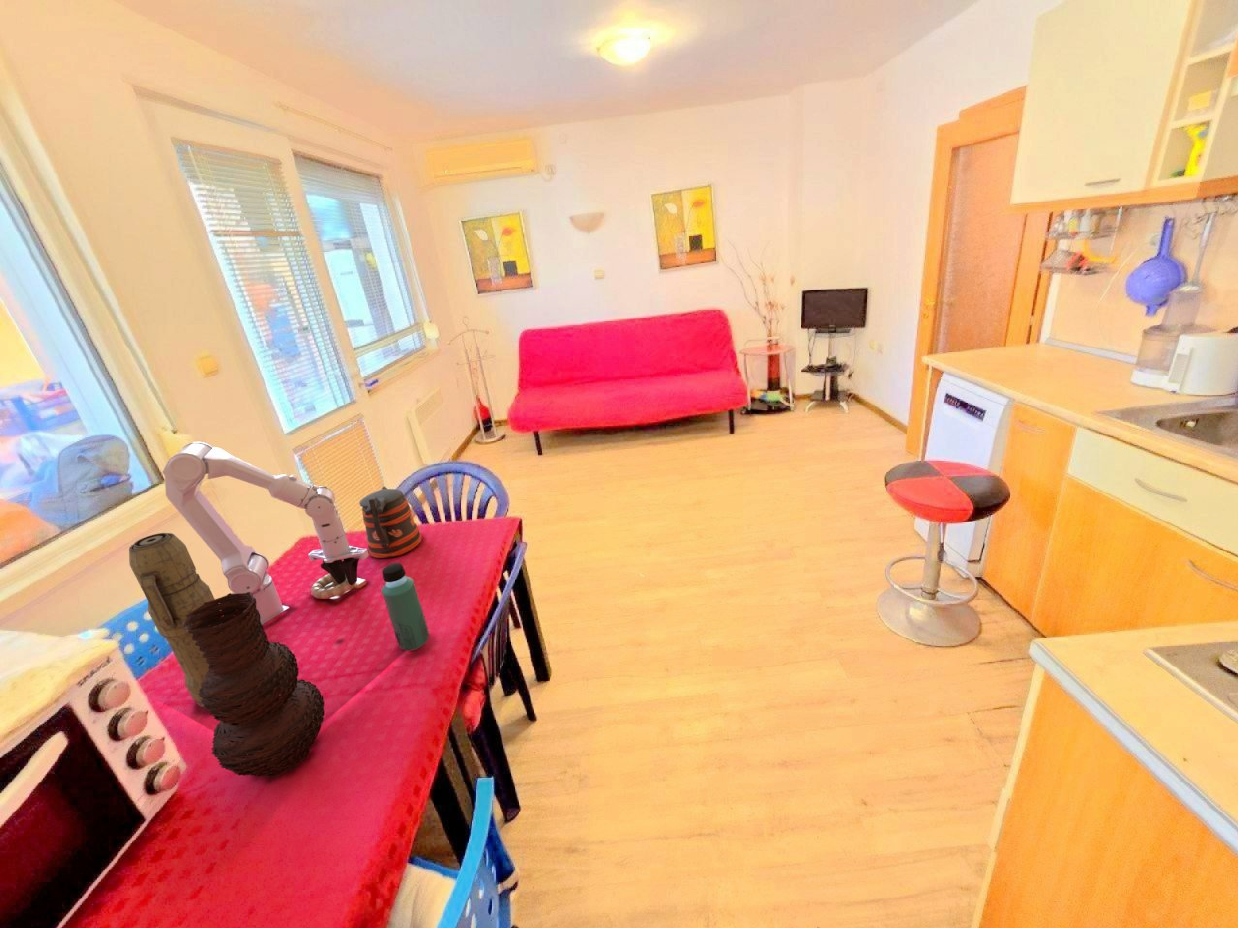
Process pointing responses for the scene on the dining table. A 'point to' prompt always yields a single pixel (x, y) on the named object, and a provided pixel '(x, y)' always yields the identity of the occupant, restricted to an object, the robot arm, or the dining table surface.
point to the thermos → (172, 599)
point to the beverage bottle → (404, 608)
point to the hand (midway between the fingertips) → (348, 582)
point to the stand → (358, 585)
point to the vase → (253, 690)
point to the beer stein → (389, 523)
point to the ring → (330, 592)
